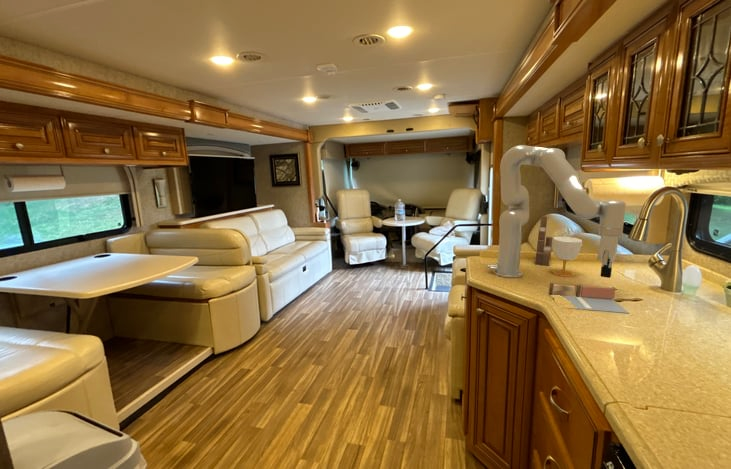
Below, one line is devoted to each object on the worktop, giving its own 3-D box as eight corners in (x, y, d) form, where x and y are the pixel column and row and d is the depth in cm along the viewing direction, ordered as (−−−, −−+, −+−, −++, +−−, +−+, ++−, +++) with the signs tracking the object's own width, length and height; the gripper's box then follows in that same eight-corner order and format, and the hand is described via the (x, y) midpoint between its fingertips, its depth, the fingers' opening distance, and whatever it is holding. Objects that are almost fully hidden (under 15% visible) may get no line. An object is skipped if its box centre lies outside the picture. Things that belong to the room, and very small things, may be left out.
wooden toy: (549, 266, 170) (554, 218, 165) (535, 264, 174) (539, 217, 169) (550, 259, 183) (555, 214, 178) (537, 257, 187) (541, 213, 182)
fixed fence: (549, 294, 132) (550, 283, 131) (548, 293, 134) (549, 282, 133) (580, 297, 130) (581, 286, 129) (578, 295, 131) (580, 284, 130)
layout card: (559, 307, 121) (559, 306, 121) (548, 293, 134) (548, 292, 134) (628, 313, 116) (629, 312, 116) (610, 298, 129) (610, 297, 129)
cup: (562, 269, 166) (565, 235, 162) (583, 276, 155) (588, 240, 151) (543, 271, 162) (547, 237, 159) (564, 279, 151) (569, 242, 148)
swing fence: (581, 296, 130) (583, 285, 129) (580, 295, 131) (581, 284, 130) (614, 298, 127) (616, 288, 126) (613, 297, 128) (614, 287, 127)
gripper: (602, 228, 137) (598, 270, 140) (595, 233, 126) (590, 279, 130) (625, 230, 132) (620, 274, 135) (619, 235, 121) (614, 283, 125)
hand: (605, 276), depth 132 cm, fingers closed
